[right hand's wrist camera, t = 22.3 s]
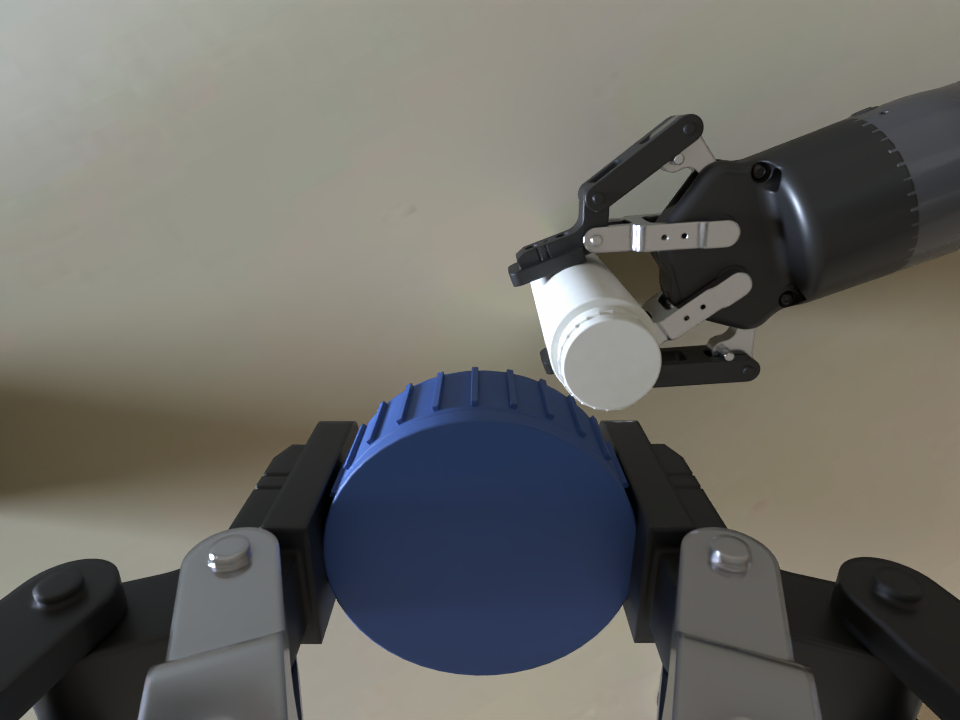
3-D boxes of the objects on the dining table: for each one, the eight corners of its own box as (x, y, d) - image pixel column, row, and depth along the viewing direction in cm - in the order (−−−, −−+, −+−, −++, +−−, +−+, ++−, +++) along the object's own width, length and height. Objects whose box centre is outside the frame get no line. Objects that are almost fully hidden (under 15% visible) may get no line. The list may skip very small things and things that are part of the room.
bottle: (518, 253, 35) (536, 335, 21) (585, 226, 34) (651, 291, 20) (543, 316, 37) (575, 433, 22) (608, 290, 36) (685, 395, 22)
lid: (668, 517, 11) (703, 591, 9) (452, 635, 12) (447, 720, 11) (517, 307, 10) (525, 347, 8) (286, 464, 11) (248, 530, 9)
